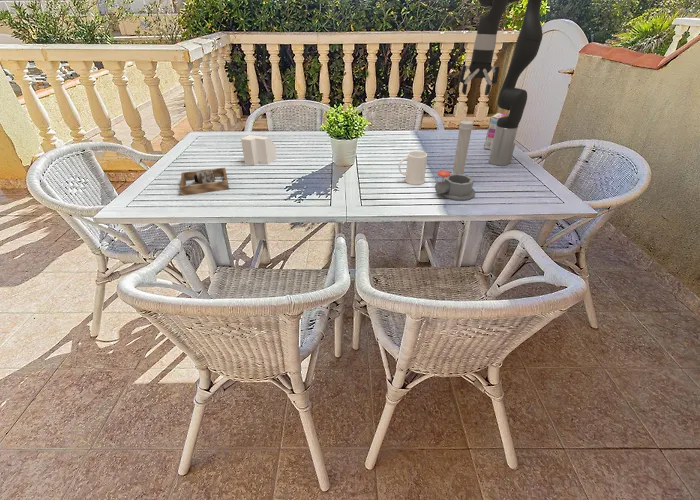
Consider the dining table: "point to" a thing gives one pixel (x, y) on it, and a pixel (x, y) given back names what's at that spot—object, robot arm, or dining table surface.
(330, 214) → the dining table surface
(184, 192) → the parts corral
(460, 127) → the pipe
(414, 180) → the mug
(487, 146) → the candy bar box
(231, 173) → the dining table surface
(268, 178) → the dining table surface
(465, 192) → the valve socket
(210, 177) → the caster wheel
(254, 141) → the corner bracket
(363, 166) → the dining table surface
